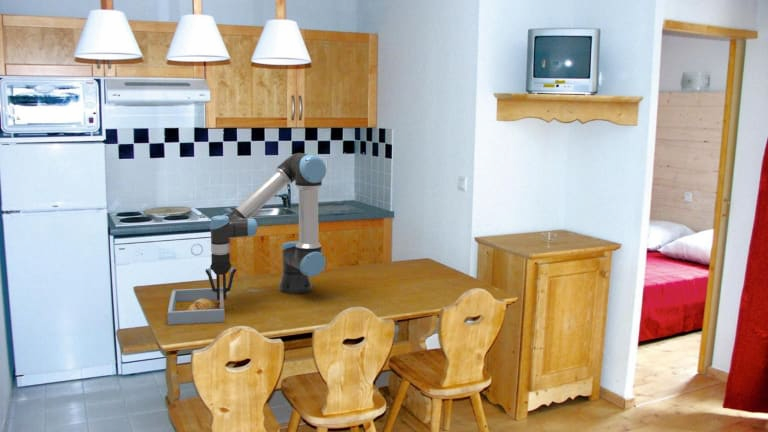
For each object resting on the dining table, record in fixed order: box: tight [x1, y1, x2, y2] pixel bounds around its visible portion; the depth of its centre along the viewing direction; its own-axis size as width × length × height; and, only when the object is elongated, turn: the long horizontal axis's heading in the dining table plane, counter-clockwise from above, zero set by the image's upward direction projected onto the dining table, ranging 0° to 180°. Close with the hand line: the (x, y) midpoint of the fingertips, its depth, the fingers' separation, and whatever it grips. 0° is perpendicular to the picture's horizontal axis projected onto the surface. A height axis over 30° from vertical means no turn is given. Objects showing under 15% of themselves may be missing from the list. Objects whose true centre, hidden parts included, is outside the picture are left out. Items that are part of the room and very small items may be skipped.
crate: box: [167, 287, 226, 326], centre depth 296 cm, size 22×33×5 cm, turn 13°
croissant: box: [185, 298, 220, 311], centre depth 292 cm, size 21×10×8 cm, turn 150°
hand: (221, 307), depth 298 cm, fingers closed
